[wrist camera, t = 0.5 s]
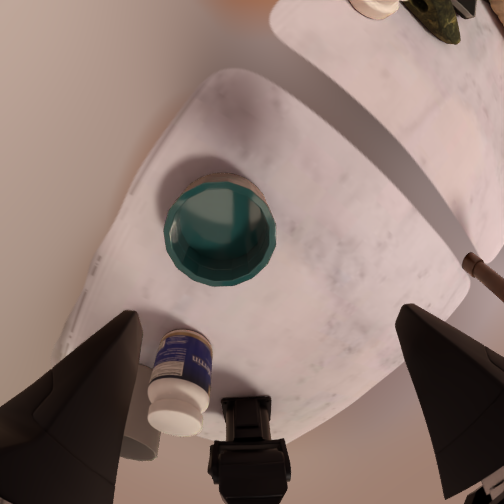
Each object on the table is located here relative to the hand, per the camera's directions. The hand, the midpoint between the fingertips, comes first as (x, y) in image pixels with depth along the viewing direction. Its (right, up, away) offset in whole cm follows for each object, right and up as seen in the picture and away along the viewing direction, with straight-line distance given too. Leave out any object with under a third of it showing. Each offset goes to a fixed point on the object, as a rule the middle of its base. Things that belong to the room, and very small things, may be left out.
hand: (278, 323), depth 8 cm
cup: (-16, -15, +22) cm, 31 cm away
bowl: (-3, +5, +14) cm, 15 cm away
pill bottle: (-8, -8, +19) cm, 22 cm away
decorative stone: (+12, +24, +5) cm, 28 cm away
